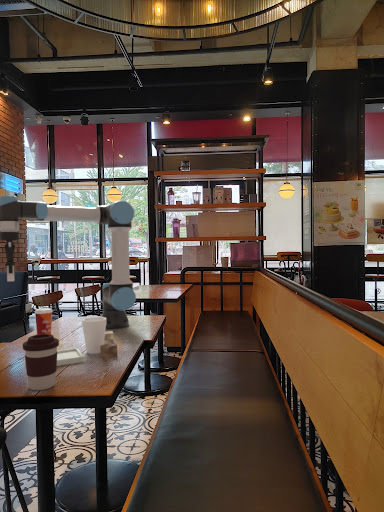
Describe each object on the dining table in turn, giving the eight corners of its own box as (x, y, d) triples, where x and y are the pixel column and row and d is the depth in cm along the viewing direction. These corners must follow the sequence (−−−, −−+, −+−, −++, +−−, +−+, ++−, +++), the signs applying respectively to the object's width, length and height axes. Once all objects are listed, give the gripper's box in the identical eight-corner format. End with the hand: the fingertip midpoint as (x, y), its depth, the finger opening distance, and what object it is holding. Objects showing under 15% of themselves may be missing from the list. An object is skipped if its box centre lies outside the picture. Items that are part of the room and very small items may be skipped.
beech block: (112, 341, 158) (112, 331, 158) (113, 343, 154) (113, 333, 154) (102, 342, 157) (102, 331, 157) (102, 344, 152) (102, 334, 152)
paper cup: (46, 342, 157) (46, 310, 157) (31, 341, 159) (30, 310, 159) (56, 338, 165) (56, 308, 165) (42, 337, 166) (41, 307, 166)
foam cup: (85, 356, 136) (84, 322, 135) (80, 350, 144) (79, 318, 144) (109, 352, 140) (109, 319, 140) (104, 347, 148) (103, 316, 148)
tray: (77, 352, 140) (77, 347, 140) (83, 361, 129) (83, 356, 129) (41, 358, 134) (41, 352, 134) (45, 367, 123) (45, 362, 123)
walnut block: (110, 354, 138) (110, 343, 137) (117, 356, 135) (117, 345, 134) (100, 357, 134) (100, 345, 134) (107, 359, 131) (107, 347, 131)
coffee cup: (54, 392, 101) (52, 339, 101) (18, 393, 101) (16, 341, 100) (63, 379, 111) (62, 331, 111) (31, 380, 110) (30, 333, 110)
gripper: (0, 233, 164) (1, 278, 164) (-2, 229, 142) (0, 282, 142) (18, 233, 167) (19, 278, 168) (19, 229, 145) (21, 281, 146)
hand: (10, 280), depth 155 cm, fingers open, 13 cm apart
